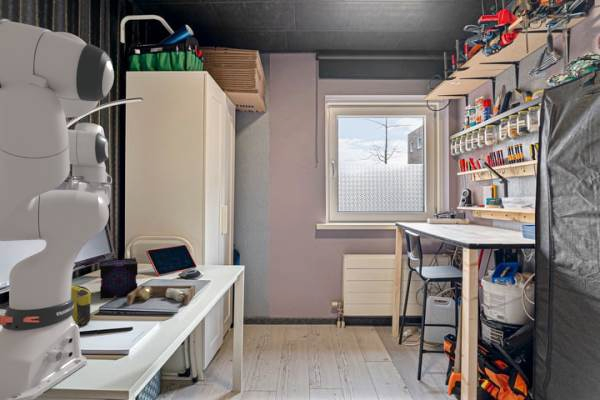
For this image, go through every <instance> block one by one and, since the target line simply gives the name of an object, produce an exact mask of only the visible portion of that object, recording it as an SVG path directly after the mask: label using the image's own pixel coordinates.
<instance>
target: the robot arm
mask: <svg viewBox="0 0 600 400" xmlns="http://www.w3.org/2000/svg"><path fill="white" fill-rule="evenodd" d="M113 67H114V65H113V61H112V59H111V58H110V56H109V55H108V53H107V52H106V51H105V50H103V49H101V48H99V47H98V46H95V45H94V44H91V43H86V42H85V40H83V39H82V38H80V37H79V36H77V35H75V34H73V33H70V32H67V31H66V32H64V31H54V32H53V31H52V30H50V29H48V28H43V27H40V26H36V25H31V24H26V23H21V22H16V21H11V20H10V19H9V18H5V17H4V18H3V17H0V242H14V241H15V242H19V241H35V240H36V241H37V240H41V241H45V247H44V248H43V249H42V250H41V251H39V252H37V253H34V254H33V255H30V256H28V257H26V258H24V259H22V260H20V261H19V262H17V263H16V264H15V265H13V267H12V268H11V270H10V272H9V276H8V277H9V278H8V282H9V283H8V287H9V288H8V292H9V293H8V294H9V295H8V296H9V297H8V298H9V299H8V304H9V305H7V307H6V310H5V313H4V314H3V315H2V314H0V326H1V327H2V328H1V330H0V400H35V399H36V398H38V397H39V396H40V395H41V394H43V393H45V392H47V391H48V390H49V389H51V388H52V387H54V386H56V385H57V384H59V383H60V382H61V381H63V380H64V379H66V378H68V377H69V376H70V375H72V374H74V372H76V371H77V370H79V369H80V368H82V367H84V366H85V365H87V363H88V361H87V357H86V356H84V355H83V354H82V348H81V347H82V346H81V336H80V335H81V334H80V328H79V324H78V323H76V322H75V321H74V320H73V317H72V315H73V313H74V301H73V297H71V287H72V285H73V283H72V282H73V271H74V266H75V263H76V259H77V258H78V255H79V253H80V252H81V250H82V249H83V247H85V245H86V244H87V243H88V242H89V241H91V239H92V238H94V237H95V236H97V235H98V234H99V233H101V232H102V231H103V230H104V228H105V227H106V226H107V223H108V221H109V217H110V212H109V211H110V210H109V205H110V202H111V196H112V195H111V194H112V190H111V189H112V187H111V184H112V182H113V178H112V176H111V175H110V174H109V173H108V172H107V171H106V169H107V167H106V164H105V161H107V160H108V159H109V158H110V156H109V155H110V154H109V153H110V152H109V151H110V150H109V149H110V148H109V147H110V141H109V140H108V138H106V136H105V132H104V128H103V127H102V126H101V125H100V124H96V123H93V122H86V121H85V122H84V121H83V122H79V123H76V124H75V126H74V129H68V124H67V119H66V118H78V117H82V116H85V115H86V114H89V113H90V112H92V111H93V110H94V109H96V107H97V106H98V104H99V102H100V101H101V100H103V99H105V98H106V97H108V95H109V93H110V90H111V89H112V87H113V84H114V80H115V71H114V68H113ZM71 165H72V166H71ZM70 166H71V167H72V174H71V175H72V176H71V178H70V179H69V180H68V182H67V184H66V186H65V189H56V188H59V186H61V185H62V184H63V183H64V182H65V181H66V179H68V177H69V174H70V171H71V167H70Z"/></svg>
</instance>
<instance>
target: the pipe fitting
mask: <svg viewBox="0 0 600 400" xmlns="http://www.w3.org/2000/svg"><path fill="white" fill-rule="evenodd" d="M188 290H189V288H185V289H173V288H168V289H167V291H166V296H165V298H167V299H173V300H175V301H176V302H177V303H181V302H183V301H185V294H186V293H187V292H188Z"/></svg>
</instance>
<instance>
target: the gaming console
mask: <svg viewBox="0 0 600 400" xmlns="http://www.w3.org/2000/svg"><path fill="white" fill-rule="evenodd" d="M71 297H73V301H74V313H73V315H72V317H73V320H74V321H75V323H76V324H77V325H78V326H85V325H88V324H89V323H90V321H91V298H92V294H91V291H89V290H88V289H85V288H82V287H79V286H76V285H73V284H72V287H71Z"/></svg>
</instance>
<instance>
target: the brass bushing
mask: <svg viewBox="0 0 600 400" xmlns="http://www.w3.org/2000/svg"><path fill="white" fill-rule="evenodd" d="M152 294H153V290H152V288H151V287H144V288H143V289H142V290H140V291H139V292H138V293H137V299H138V300H137V301H138V302H146V301H147V300H148V299H149V298H151V297H153V296H152Z"/></svg>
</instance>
